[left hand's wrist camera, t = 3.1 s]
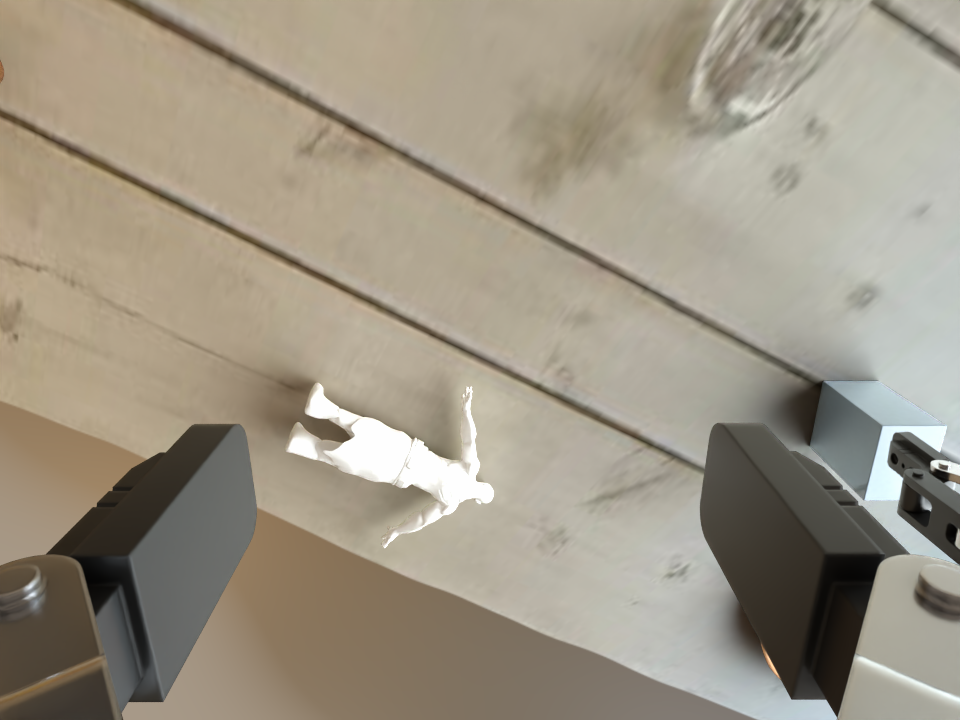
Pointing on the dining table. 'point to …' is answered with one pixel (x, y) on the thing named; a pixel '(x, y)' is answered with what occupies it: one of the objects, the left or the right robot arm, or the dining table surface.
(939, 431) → the block
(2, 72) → the toy
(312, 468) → the dining table surface
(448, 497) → the figurine
